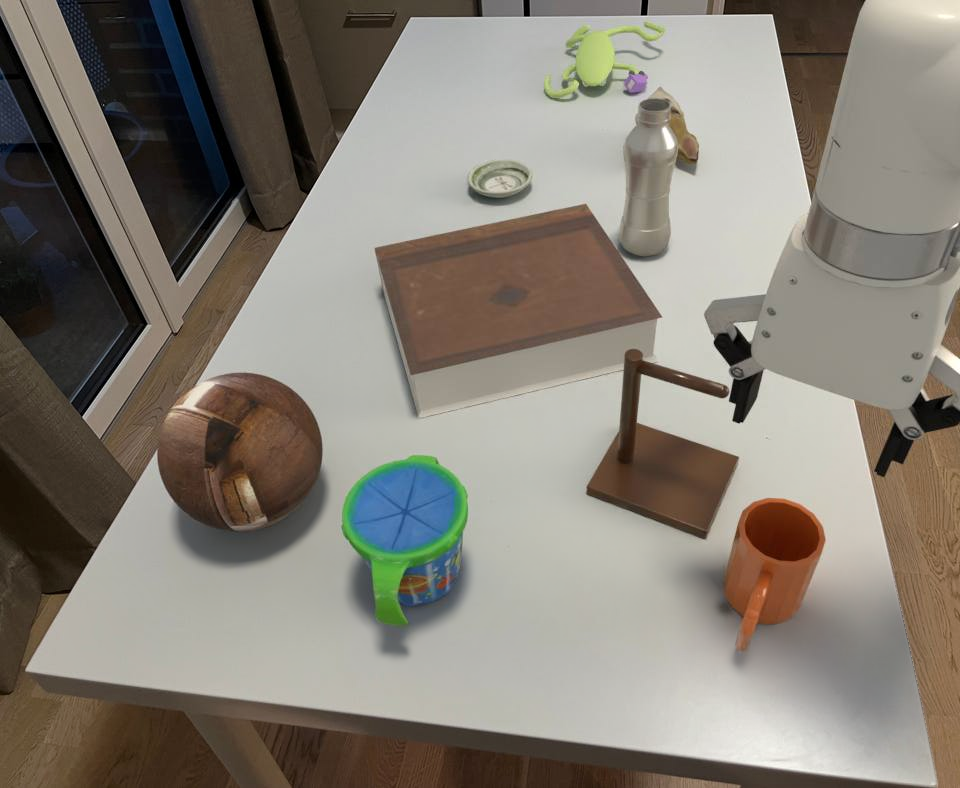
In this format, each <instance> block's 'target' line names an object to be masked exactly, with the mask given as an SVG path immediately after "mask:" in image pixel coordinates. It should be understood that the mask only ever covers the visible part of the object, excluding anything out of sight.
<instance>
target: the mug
mask: <svg viewBox="0 0 960 788" xmlns="http://www.w3.org/2000/svg"><path fill="white" fill-rule="evenodd" d="M735 529H736V531H735V533H734V538H733V541H732V545H731V549H730V551H729V556H728V560H727V563H726V568H725V572H724V575H723V582H722V583H723V585H722V586H723V593H724V596H725V598H726V600H727V602H728V603H729V605H730V606H731V607H732V609H734V611H736V612H737V613H738V614H739V615H741V617H743V618H742V621H741V623H740V624H741V625H740V628H739V631H738V635H737V638H736V641H735V648H736V650H738V652H742V653H743V652H746V651H748V650H749V647H750V644H751V642H752V638H753V635H754V633H755V631H756V630H755V629H756V627H757V624H762V625H778V624H782V623H784V622H787V621H788V620H790V619H792V618H793V617H794V616H795V615H796V614H797V612H798V611H799V610H800V608H801V606H802V603H803V600H804V599H805V595H806V594H807V592H808V589H809V586H810V584H811V581H812V578H813V576H814V573H815V571H816V569H817V566H818V564H819V561H820V559H821V556H822V554H823V551H824V548H825V545H826V542H827V540H826V533H825V530H824V525H823V524H822V523H821V522H820V520H819V519H818V518H817V516H816V515H815V514H814V513H813V512H812V511H811V510H809V509H807V508H806V507H805V506H804V505H802V504H801V503H798V502H795V501H792V500H789V499H787V498H779V497H766V498H762V499H759V500H755V501H753V502H751V503H750V504H749V505H748V506H746V507H745V508H744V509H743V510H742V512H741V514H740V517H739V519H738V522H737V526H736V528H735Z"/></svg>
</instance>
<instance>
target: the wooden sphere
mask: <svg viewBox="0 0 960 788" xmlns="http://www.w3.org/2000/svg"><path fill="white" fill-rule="evenodd" d="M160 428H161V429H160V432H159V436H158V439H157V440H158V441H157V450H156V457H157V458H156V459H157V466H158V472H159V475H160V478H161V481H162V484H163V486H164V487H165V490H166V491H167V493H168V495H169V497H170V499H172V501H173V502H174V504H176V505H177V506H178V507H179V509H180V510H181V511H183V512H184V513H185V514H186V515H188V516H189V517H190V518H192V519H194V520H195V521H197V522H199V523H201V524H203V525H205V526H207V527H210V528H213V529H216V530H221V531H226V532H249V531H255V530H256V531H257V530H261V529H263V528H266V527H267V528H268V527H269V526H273V525H274V524H277V523H278V522H281V521H282V520H283V519H285V518H287V517H288V516H289V515H291V514H292V513H293V512H295V511H296V510H297V509H298V508H299V507H300V506H301V505H303V503H304V502H305V501H306V499H307V498H308V496H309V495H310V493H311V492H312V490H313V488H314V487H315V485H316V483H317V481H318V478H319V475H320V471H321V467H322V463H323V453H324V452H323V451H324V450H323V438H322V433H321V429H320V426H319V423H318V421H317V417H316V416H315V414H314V413H313V411H312V409H311V407H309V405H308V404H307V402H306V401H305V400H304V398H302V396H301V395H299V394H298V393H297V392H296V391H295V390H294V389H293V388H291V387H289V386H288V385H286V384H285V383H283V382H281V381H279V380H278V379H275V378H273V377H270V376H267V375H263V374H259V373H255V372H254V373H253V372H231V373H224V374H219V375H216V376H213V377H211V378H208V379H206V380H204V381H201V382H199V383H197V384H196V385H195V386H193V387H192V388H190V389H189V390H187V391H186V392H185V393H184V394H183V395H182V396H181V397H180V398H179V399H178V400H177V401H176V402H175V403H174V404H173V406H172V407H171V409H170V410H169V412H168V413H167V415H166V417H165V419H164V421H163V423H162V425H161V427H160Z"/></svg>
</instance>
